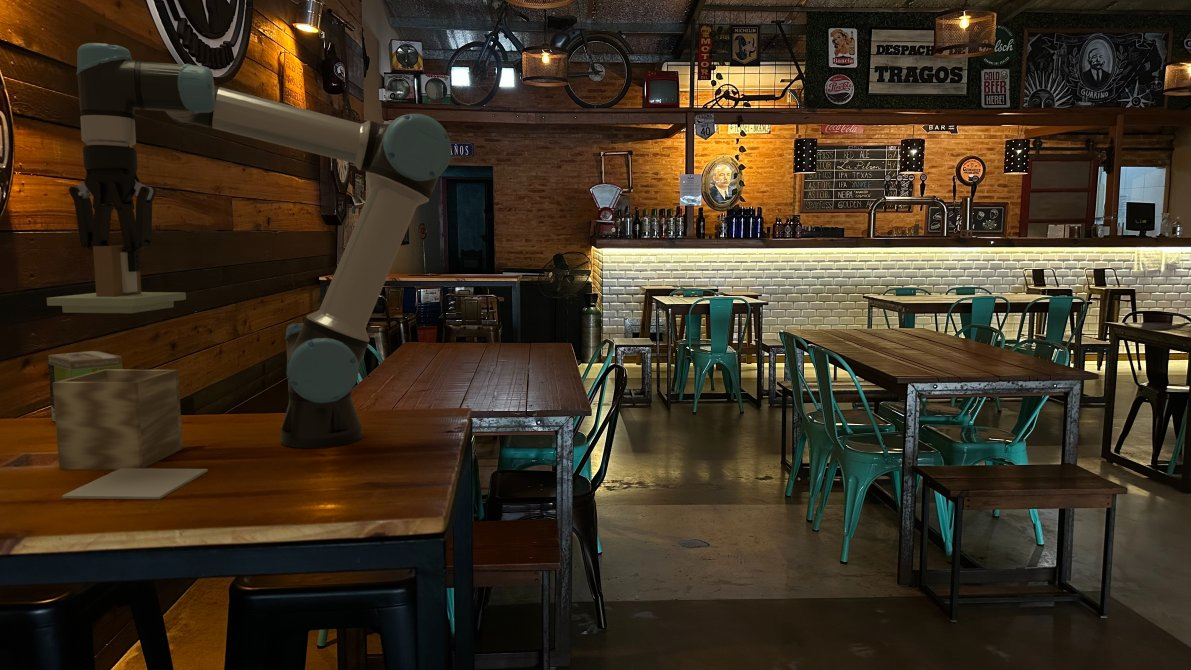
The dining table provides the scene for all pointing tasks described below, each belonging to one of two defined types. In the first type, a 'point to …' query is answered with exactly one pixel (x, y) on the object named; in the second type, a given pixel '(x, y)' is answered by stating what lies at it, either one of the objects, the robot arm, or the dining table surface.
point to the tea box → (78, 367)
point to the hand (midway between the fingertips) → (119, 291)
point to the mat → (136, 484)
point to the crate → (117, 418)
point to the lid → (114, 290)
